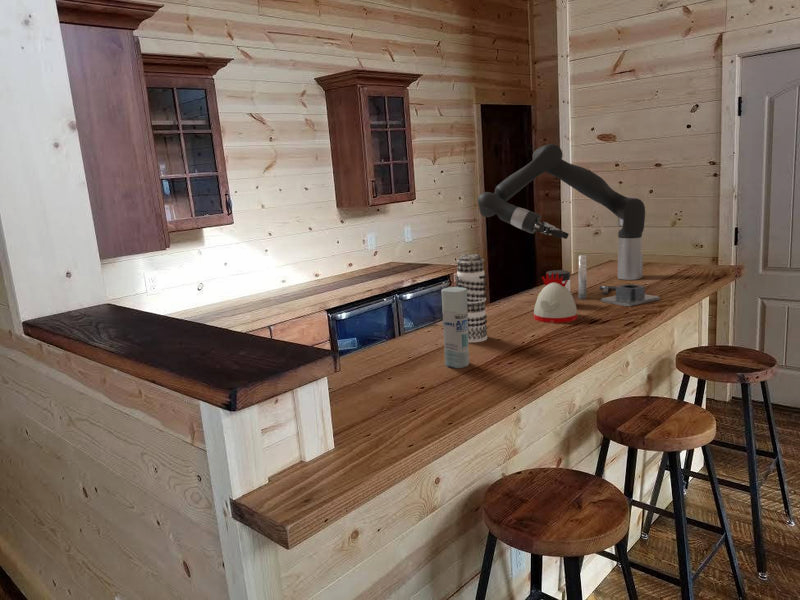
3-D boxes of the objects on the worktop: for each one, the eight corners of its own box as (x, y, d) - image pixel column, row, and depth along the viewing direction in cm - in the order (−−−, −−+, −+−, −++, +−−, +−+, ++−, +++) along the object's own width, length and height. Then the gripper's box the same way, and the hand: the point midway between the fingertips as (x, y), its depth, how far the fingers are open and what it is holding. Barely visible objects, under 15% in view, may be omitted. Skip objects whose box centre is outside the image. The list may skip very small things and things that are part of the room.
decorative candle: (479, 332, 192) (476, 252, 187) (494, 339, 184) (492, 255, 178) (452, 337, 189) (449, 255, 184) (466, 344, 180) (463, 258, 175)
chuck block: (631, 294, 231) (631, 281, 230) (659, 299, 221) (659, 285, 220) (601, 301, 224) (601, 287, 223) (628, 306, 213) (628, 292, 212)
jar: (575, 304, 221) (575, 271, 218) (561, 309, 216) (561, 275, 213) (554, 301, 227) (554, 269, 225) (540, 305, 222) (540, 272, 220)
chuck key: (600, 289, 244) (600, 284, 244) (616, 289, 242) (616, 284, 241) (596, 294, 235) (596, 289, 235) (613, 294, 233) (613, 289, 233)
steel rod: (582, 297, 232) (582, 254, 228) (587, 298, 229) (588, 255, 226) (576, 298, 230) (576, 255, 227) (582, 299, 228) (582, 256, 225)
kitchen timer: (541, 311, 214) (541, 268, 211) (582, 314, 207) (582, 269, 204) (527, 321, 203) (527, 275, 200) (570, 324, 196) (570, 277, 193)
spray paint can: (453, 359, 168) (450, 286, 163) (474, 362, 164) (471, 287, 159) (439, 365, 163) (436, 290, 159) (460, 369, 159) (457, 292, 154)
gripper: (523, 209, 229) (564, 226, 223) (534, 211, 242) (573, 227, 235) (516, 228, 231) (556, 245, 224) (527, 229, 243) (565, 245, 237)
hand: (565, 236), depth 230 cm, fingers open, 8 cm apart
